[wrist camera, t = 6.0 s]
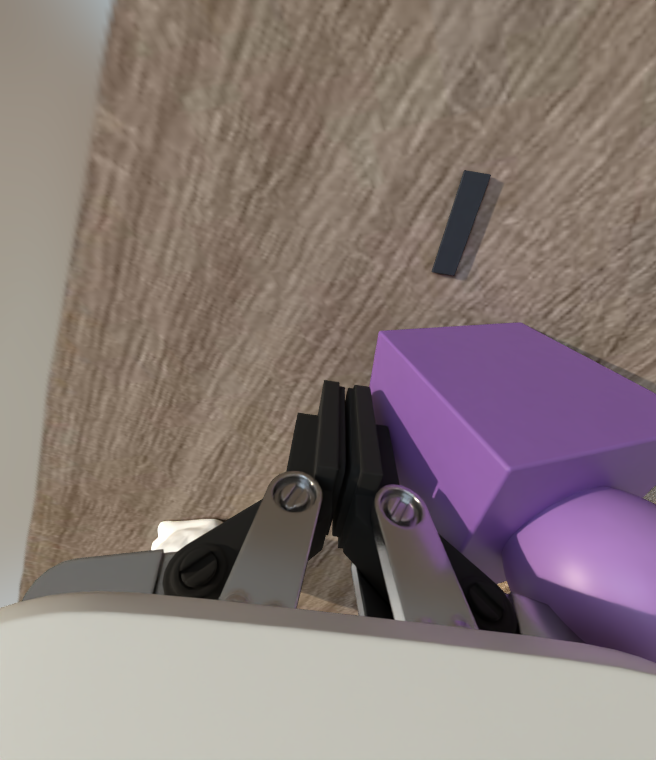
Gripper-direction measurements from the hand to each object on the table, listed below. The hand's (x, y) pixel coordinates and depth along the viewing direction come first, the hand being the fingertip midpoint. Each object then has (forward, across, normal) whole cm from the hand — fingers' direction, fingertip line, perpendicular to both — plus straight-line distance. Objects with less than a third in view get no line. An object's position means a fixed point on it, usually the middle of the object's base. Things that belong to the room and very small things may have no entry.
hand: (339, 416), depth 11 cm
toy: (+2, -4, 0) cm, 4 cm away
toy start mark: (+3, -3, -6) cm, 8 cm away
